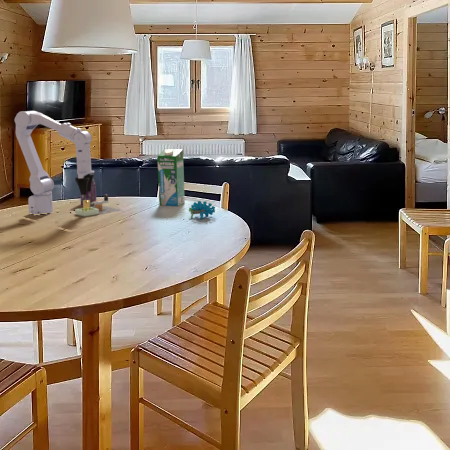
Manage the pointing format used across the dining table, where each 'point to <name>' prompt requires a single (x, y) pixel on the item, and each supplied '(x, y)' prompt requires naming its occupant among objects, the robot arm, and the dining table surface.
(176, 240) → the dining table surface
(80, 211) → the tray
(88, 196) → the beverage can
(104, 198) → the crank
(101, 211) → the base plate
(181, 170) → the milk carton
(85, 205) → the brass pin
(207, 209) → the gear
